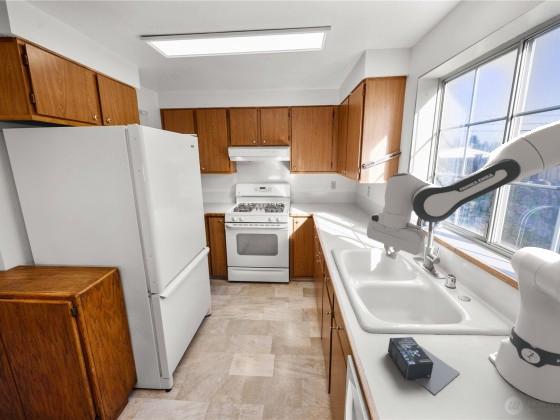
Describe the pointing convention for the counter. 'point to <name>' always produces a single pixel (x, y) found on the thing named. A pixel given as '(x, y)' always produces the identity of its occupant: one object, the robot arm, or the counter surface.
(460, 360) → the counter surface
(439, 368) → the mat
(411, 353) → the box
